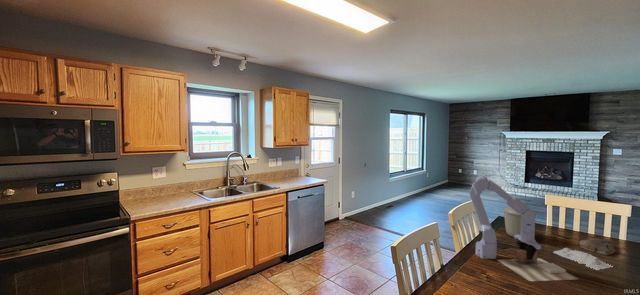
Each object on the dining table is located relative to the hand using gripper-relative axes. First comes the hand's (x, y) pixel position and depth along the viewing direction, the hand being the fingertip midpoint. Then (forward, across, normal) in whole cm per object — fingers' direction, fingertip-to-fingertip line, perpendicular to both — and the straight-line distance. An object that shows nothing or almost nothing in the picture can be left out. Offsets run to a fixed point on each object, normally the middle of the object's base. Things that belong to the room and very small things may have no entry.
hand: (526, 257), depth 143 cm
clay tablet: (+4, +16, -58) cm, 60 cm away
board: (+4, -6, +1) cm, 8 cm away
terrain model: (+5, +4, -34) cm, 34 cm away
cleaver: (+4, +43, -48) cm, 65 cm away
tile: (+2, -8, -2) cm, 8 cm away
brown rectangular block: (+2, 0, 0) cm, 2 cm away
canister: (+4, +37, -26) cm, 45 cm away
